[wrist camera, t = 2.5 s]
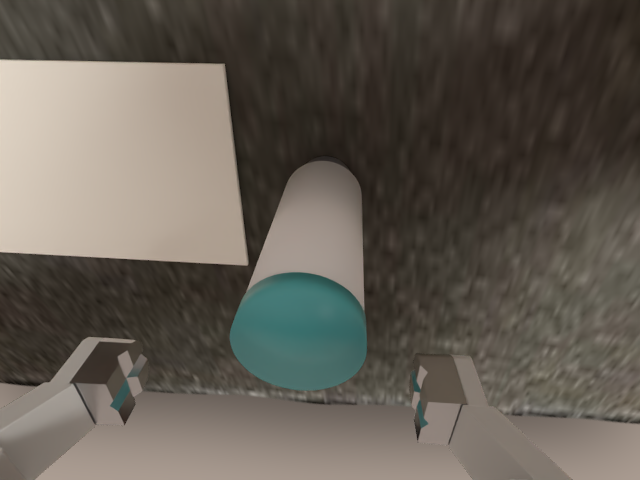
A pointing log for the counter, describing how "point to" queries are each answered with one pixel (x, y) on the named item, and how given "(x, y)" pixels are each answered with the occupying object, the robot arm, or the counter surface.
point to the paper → (119, 161)
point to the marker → (308, 285)
